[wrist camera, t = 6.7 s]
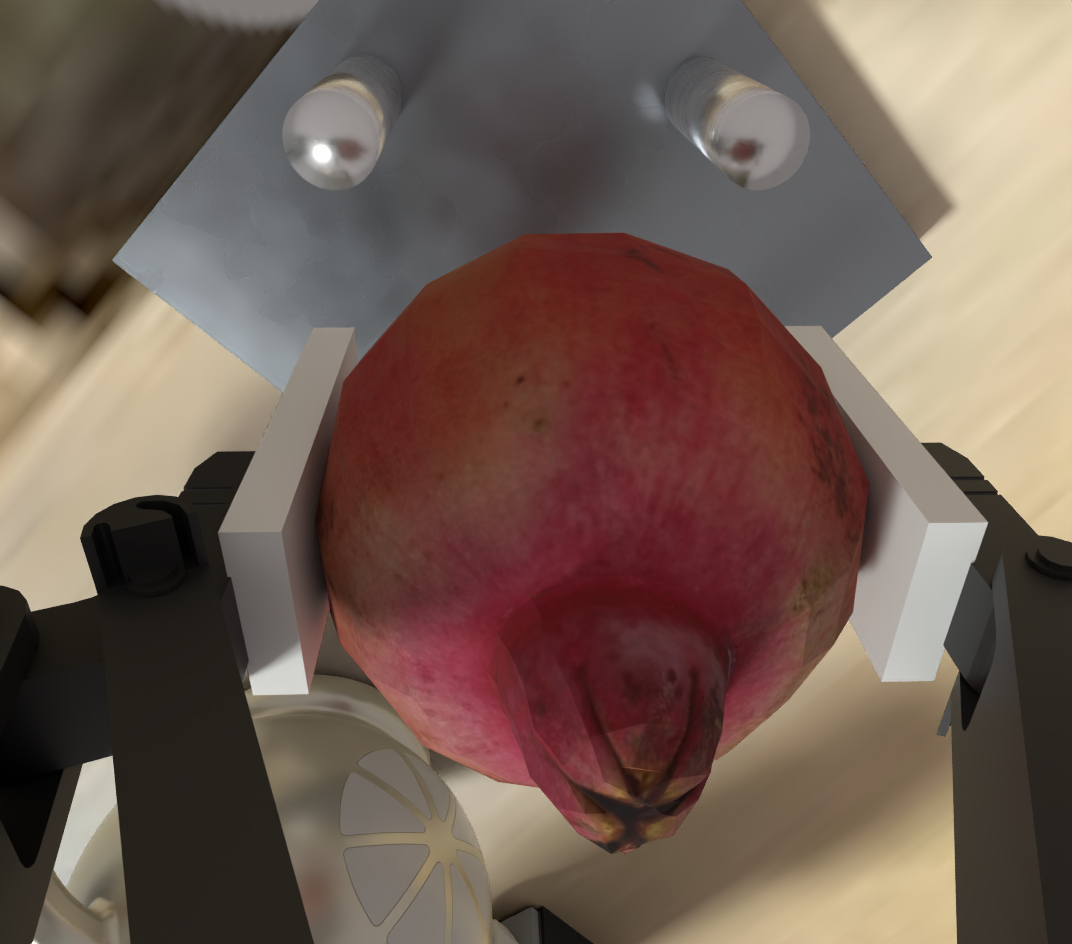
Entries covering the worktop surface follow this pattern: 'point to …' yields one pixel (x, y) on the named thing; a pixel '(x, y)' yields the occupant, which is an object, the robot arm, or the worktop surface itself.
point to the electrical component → (535, 929)
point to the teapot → (328, 832)
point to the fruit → (590, 522)
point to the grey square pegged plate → (511, 167)
